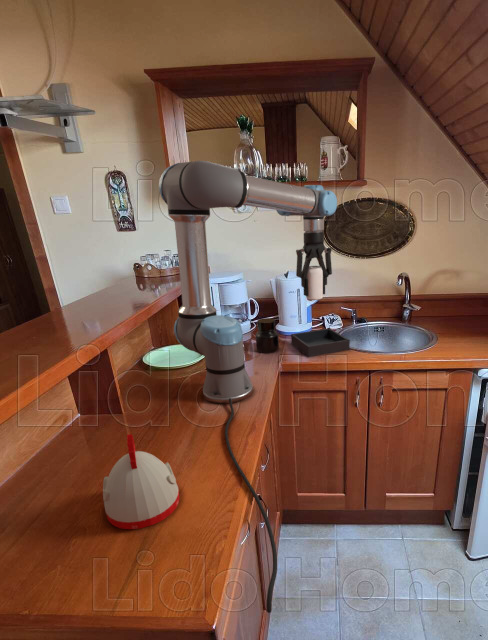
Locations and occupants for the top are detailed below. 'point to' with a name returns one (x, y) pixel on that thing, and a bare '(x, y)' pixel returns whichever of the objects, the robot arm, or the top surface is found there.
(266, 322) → the ink bottle
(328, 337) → the pan
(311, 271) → the can
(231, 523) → the top surface
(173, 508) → the toy helmet
